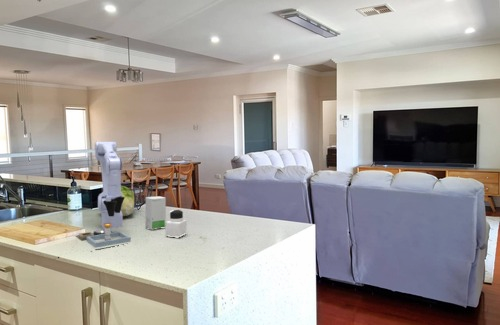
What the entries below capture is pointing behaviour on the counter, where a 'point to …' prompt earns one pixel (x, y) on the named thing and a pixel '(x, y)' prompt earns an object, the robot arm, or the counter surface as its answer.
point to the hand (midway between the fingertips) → (114, 214)
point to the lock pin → (107, 231)
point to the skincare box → (155, 212)
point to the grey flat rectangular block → (90, 234)
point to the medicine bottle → (175, 223)
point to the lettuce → (127, 201)
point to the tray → (123, 239)
